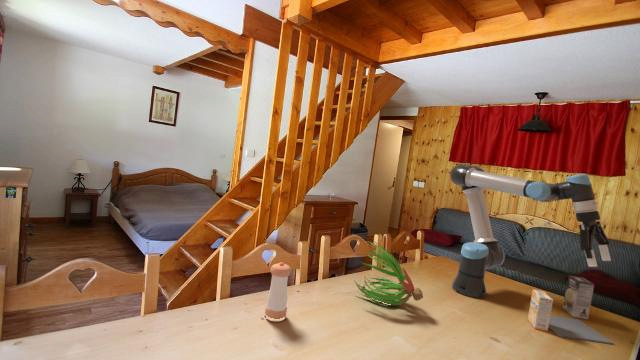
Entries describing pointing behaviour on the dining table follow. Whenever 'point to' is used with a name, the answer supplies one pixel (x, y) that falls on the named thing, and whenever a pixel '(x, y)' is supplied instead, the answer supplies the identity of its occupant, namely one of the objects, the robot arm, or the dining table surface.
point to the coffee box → (578, 296)
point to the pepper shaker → (278, 291)
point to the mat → (575, 330)
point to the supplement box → (540, 310)
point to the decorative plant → (402, 286)
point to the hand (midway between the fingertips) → (600, 263)
